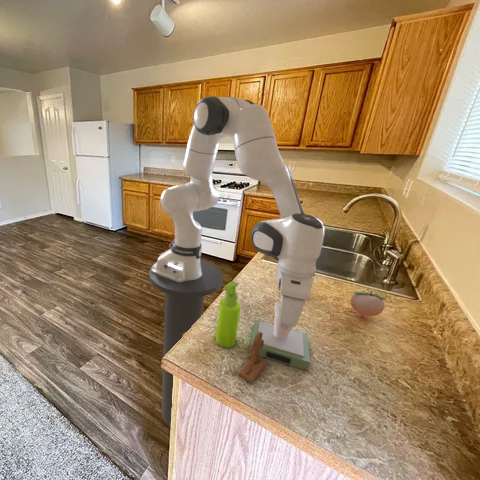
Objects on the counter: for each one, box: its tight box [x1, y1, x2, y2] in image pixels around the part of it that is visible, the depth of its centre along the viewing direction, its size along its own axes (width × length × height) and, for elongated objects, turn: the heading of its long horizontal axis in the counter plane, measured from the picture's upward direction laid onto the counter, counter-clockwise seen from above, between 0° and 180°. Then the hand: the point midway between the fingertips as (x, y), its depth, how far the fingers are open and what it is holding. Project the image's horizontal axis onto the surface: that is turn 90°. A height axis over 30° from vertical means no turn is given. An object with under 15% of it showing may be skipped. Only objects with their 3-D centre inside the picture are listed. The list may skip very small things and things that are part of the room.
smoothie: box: [273, 300, 293, 340], centre depth 74 cm, size 6×6×14 cm
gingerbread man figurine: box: [237, 332, 267, 384], centre depth 68 cm, size 9×4×12 cm, turn 135°
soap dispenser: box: [215, 280, 242, 348], centre depth 76 cm, size 6×7×20 cm
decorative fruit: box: [350, 290, 387, 317], centre depth 91 cm, size 9×8×10 cm
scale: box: [250, 319, 311, 372], centre depth 77 cm, size 15×12×4 cm
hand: (284, 319), depth 75 cm, fingers closed on smoothie, 6 cm apart
